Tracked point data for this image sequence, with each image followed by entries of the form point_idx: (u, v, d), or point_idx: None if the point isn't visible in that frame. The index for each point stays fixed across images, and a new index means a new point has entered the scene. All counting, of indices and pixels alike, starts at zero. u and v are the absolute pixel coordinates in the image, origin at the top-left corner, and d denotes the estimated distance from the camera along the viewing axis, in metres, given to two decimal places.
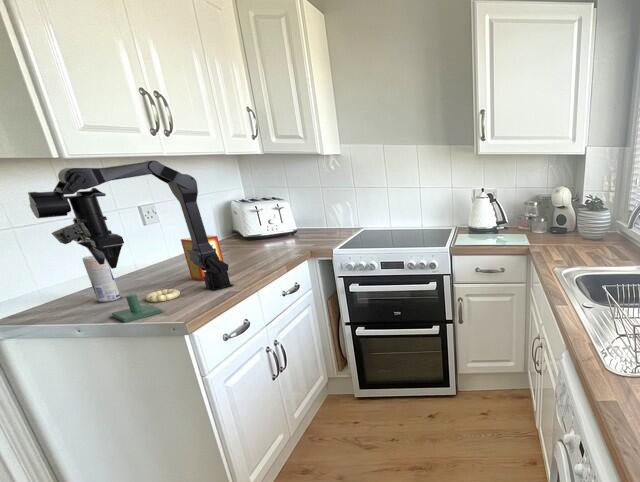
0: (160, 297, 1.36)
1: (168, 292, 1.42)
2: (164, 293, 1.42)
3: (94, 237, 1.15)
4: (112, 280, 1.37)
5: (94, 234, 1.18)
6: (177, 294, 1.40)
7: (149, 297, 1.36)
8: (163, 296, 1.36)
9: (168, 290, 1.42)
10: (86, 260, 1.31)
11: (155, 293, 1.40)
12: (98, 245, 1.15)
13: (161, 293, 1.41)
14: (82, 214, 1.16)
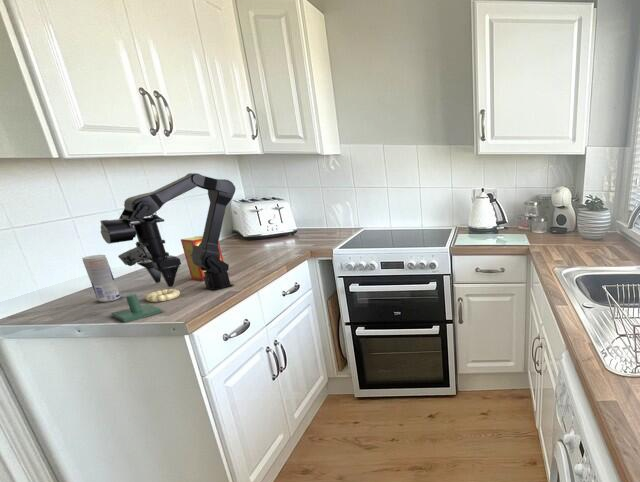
0: (160, 297, 1.36)
1: (168, 292, 1.42)
2: (164, 293, 1.42)
3: (156, 259, 1.28)
4: (112, 280, 1.37)
5: (154, 256, 1.31)
6: (177, 294, 1.40)
7: (149, 297, 1.36)
8: (163, 296, 1.36)
9: (168, 290, 1.42)
10: (86, 260, 1.31)
11: (155, 293, 1.40)
12: (160, 267, 1.27)
13: (161, 293, 1.41)
14: (145, 238, 1.29)
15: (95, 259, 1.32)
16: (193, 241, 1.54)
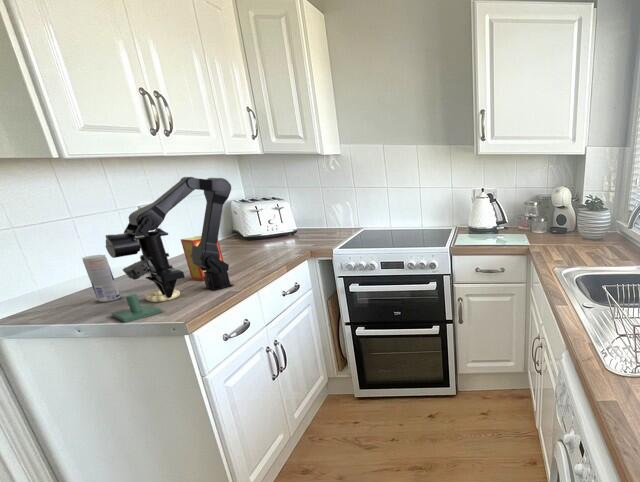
0: (160, 297, 1.36)
1: None
2: None
3: (160, 273, 1.29)
4: (112, 280, 1.37)
5: (158, 269, 1.32)
6: (177, 294, 1.40)
7: (149, 297, 1.36)
8: (163, 296, 1.36)
9: None
10: (86, 260, 1.31)
11: (155, 293, 1.40)
12: (164, 280, 1.29)
13: (161, 293, 1.41)
14: (149, 252, 1.30)
15: (95, 259, 1.32)
16: (193, 241, 1.54)
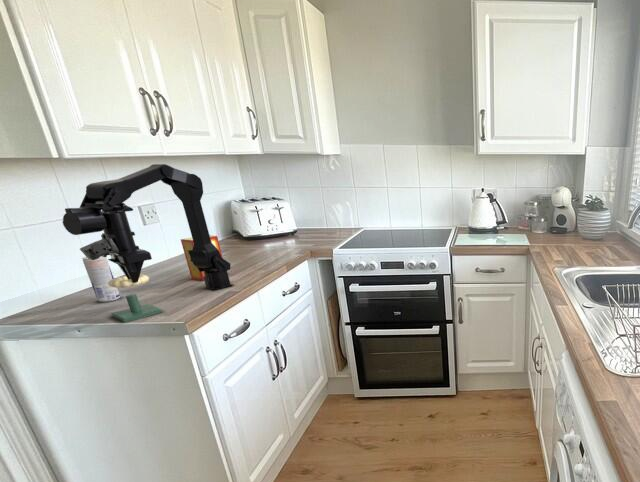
0: (124, 282, 1.20)
1: None
2: None
3: (122, 253, 1.13)
4: None
5: (122, 250, 1.17)
6: (145, 279, 1.24)
7: (112, 282, 1.20)
8: (128, 281, 1.21)
9: None
10: (86, 260, 1.31)
11: (120, 279, 1.24)
12: (126, 261, 1.13)
13: (128, 280, 1.26)
14: (111, 230, 1.14)
15: None
16: None
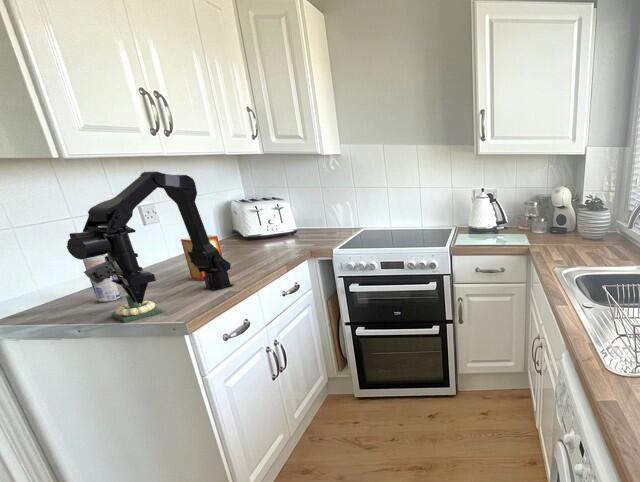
0: (132, 310, 1.21)
1: (142, 304, 1.27)
2: None
3: (126, 275, 1.14)
4: None
5: (126, 272, 1.17)
6: (151, 307, 1.25)
7: (119, 310, 1.21)
8: (135, 309, 1.22)
9: (142, 302, 1.27)
10: (86, 260, 1.31)
11: (127, 306, 1.25)
12: (131, 284, 1.13)
13: None
14: (114, 252, 1.15)
15: (95, 259, 1.32)
16: None
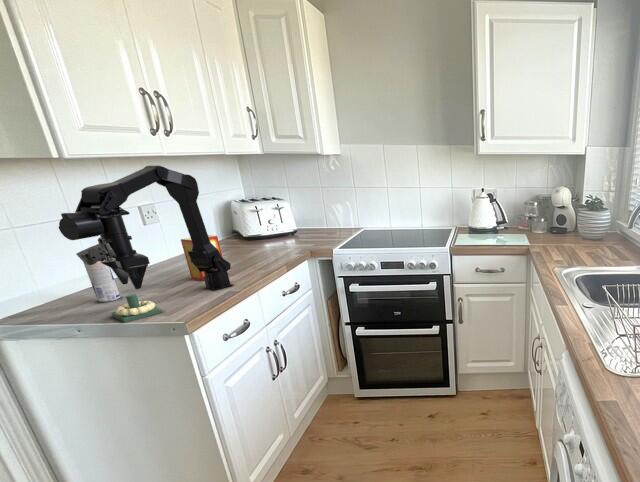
0: (132, 310, 1.21)
1: (142, 304, 1.27)
2: None
3: (119, 257, 1.12)
4: (112, 280, 1.37)
5: (119, 254, 1.15)
6: (151, 307, 1.25)
7: (119, 310, 1.21)
8: (135, 309, 1.22)
9: (142, 302, 1.27)
10: None
11: (127, 306, 1.25)
12: (124, 266, 1.11)
13: None
14: (107, 234, 1.13)
15: None
16: None
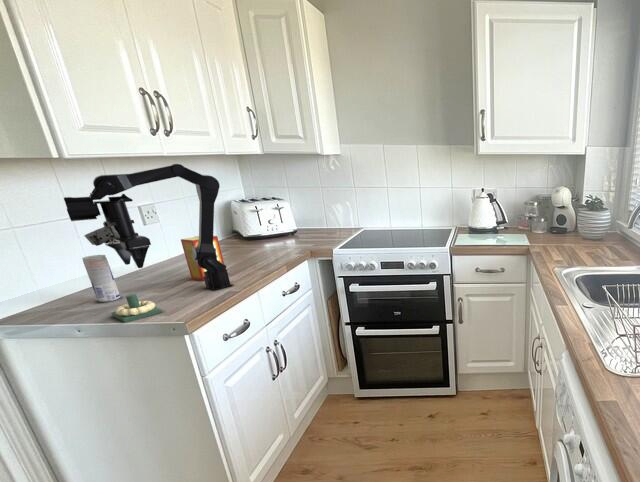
0: (132, 310, 1.21)
1: (142, 304, 1.27)
2: None
3: (124, 239, 1.25)
4: (112, 280, 1.37)
5: (123, 236, 1.28)
6: (151, 307, 1.25)
7: (119, 310, 1.21)
8: (135, 309, 1.22)
9: (142, 302, 1.27)
10: (86, 260, 1.31)
11: (127, 306, 1.25)
12: (128, 246, 1.24)
13: None
14: (112, 218, 1.25)
15: (95, 259, 1.32)
16: (193, 241, 1.54)
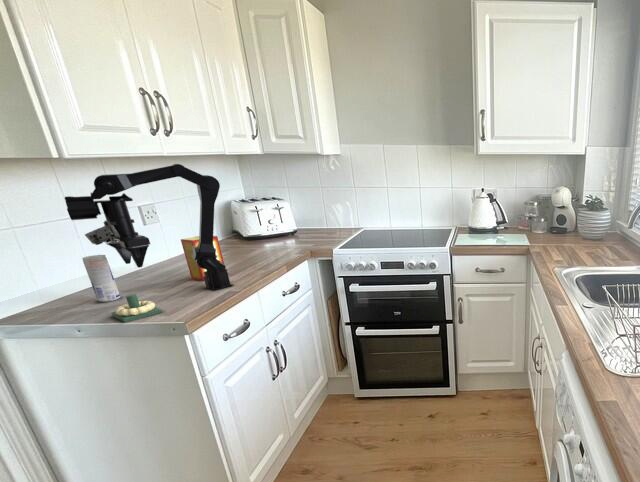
0: (132, 310, 1.21)
1: (142, 304, 1.27)
2: None
3: (123, 238, 1.25)
4: (112, 280, 1.37)
5: (123, 236, 1.28)
6: (151, 307, 1.25)
7: (119, 310, 1.21)
8: (135, 309, 1.22)
9: (142, 302, 1.27)
10: (86, 260, 1.31)
11: (127, 306, 1.25)
12: (127, 246, 1.25)
13: None
14: (112, 217, 1.26)
15: (95, 259, 1.32)
16: (193, 241, 1.54)
